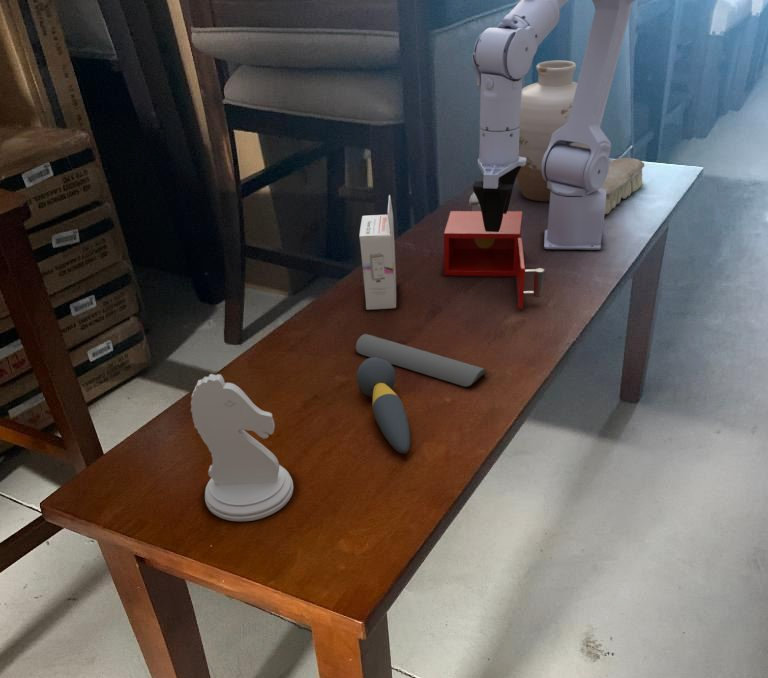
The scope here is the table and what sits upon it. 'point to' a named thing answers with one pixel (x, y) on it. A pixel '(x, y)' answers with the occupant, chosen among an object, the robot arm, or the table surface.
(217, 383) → the chess piece
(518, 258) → the red cabinet door
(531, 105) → the vase
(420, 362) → the gray half cylinder
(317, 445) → the table surface
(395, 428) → the wand massager
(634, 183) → the shoe brush
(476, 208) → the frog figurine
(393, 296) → the ink cartridge box
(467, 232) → the cabinet
